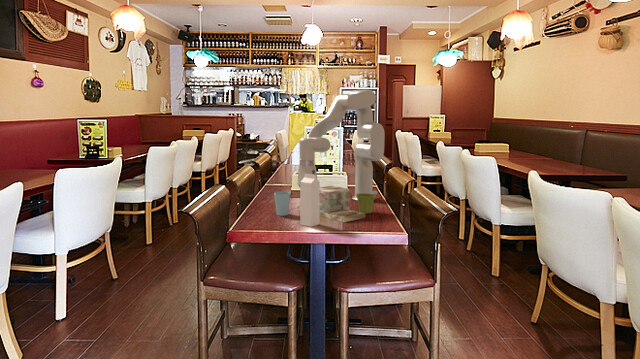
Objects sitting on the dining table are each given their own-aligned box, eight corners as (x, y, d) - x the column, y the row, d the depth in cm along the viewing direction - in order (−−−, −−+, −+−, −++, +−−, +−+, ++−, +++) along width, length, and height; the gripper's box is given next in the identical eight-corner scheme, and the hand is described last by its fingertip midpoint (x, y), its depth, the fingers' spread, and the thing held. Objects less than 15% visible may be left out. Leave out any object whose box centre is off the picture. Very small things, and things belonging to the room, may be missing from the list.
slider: (298, 204, 232) (298, 188, 231) (311, 202, 238) (311, 186, 237) (328, 212, 216) (329, 195, 215) (342, 209, 222) (342, 192, 221)
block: (329, 207, 226) (329, 197, 225) (336, 209, 222) (336, 199, 222) (321, 209, 223) (321, 199, 222) (328, 211, 219) (328, 200, 218)
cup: (285, 217, 215) (285, 194, 214) (271, 215, 218) (270, 193, 217) (293, 213, 222) (293, 192, 220) (279, 212, 225) (279, 191, 224)
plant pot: (377, 211, 229) (377, 193, 227) (372, 215, 220) (373, 197, 219) (358, 209, 232) (358, 192, 230) (353, 213, 223) (353, 196, 222)
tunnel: (297, 210, 229) (297, 186, 227) (318, 206, 238) (318, 183, 237) (344, 222, 206) (344, 195, 204) (365, 217, 215) (365, 191, 213)
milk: (308, 222, 206) (308, 172, 202) (319, 224, 202) (320, 174, 199) (299, 225, 201) (300, 174, 198) (311, 227, 197) (311, 175, 194)
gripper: (324, 164, 228) (323, 200, 230) (302, 161, 240) (301, 196, 242) (312, 165, 222) (312, 202, 225) (290, 162, 235) (290, 197, 237)
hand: (307, 199), depth 234 cm, fingers open, 3 cm apart
